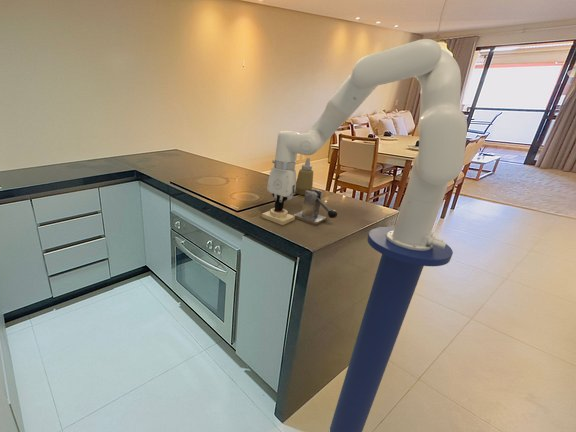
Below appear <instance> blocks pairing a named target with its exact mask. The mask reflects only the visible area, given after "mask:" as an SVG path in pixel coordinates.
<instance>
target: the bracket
mask: <svg viewBox="0 0 576 432" xmlns="http://www.w3.org/2000/svg"><path fill="white" fill-rule="evenodd" d="M314 190H315V191H316V192H317V193H318V194H319V196H318V198H319V199H320V200H321V201H322V197H323V192H324V191H323V190H321V189H317V188H312V189H311V191H314ZM311 191H306V192H305V195H304V198H303V205H302V210H301V211H297V213H294V214H292V215H293V216H295V219H296V220H299V221H303V222H305V223H308V224H310V225H313V226H318V225H319V224H322V223H324V222H325V221H327V217H328V216H327V217H326V216H324V215H320V214H319V213H320V208H321V205H320V204H319V203H318V202H317V201H316V198H317V193H315V192H311Z"/></svg>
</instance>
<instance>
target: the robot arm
mask: <svg viewBox="0 0 576 432" xmlns="http://www.w3.org/2000/svg"><path fill="white" fill-rule="evenodd" d="M412 78H415V79H416V80H417V81H418V83H419V86H420V105H419V116H418V117H419V118H418V122H417V130H418V131H417V132H418V133H419V136H418V137H419V139H418V153H417V154H416V155H415V157H414V159H413V162H412V166H411V171H410V175H409V179H408V183H407V186H406V189H405V193H404V195H403V198H402V202H401V205H400V208H399V212H398V214H397V218H396V222H395V225H394V227H395V228H394V231H390V232H388V233H387V235H386V238H387V239H388V240H389V241H390V242H391V243H393V244H395V245H397V246H400V247H403V248H406V249H410V250H417V251H426V250H430V249H431V248H432V246H433V245H434V246H437V247H439V248H442V249H444V248H445V246H446V244H447V242H444V239H441V238H437V237H435V236H434V231H432V230H433V229H434V226H435V222H436V220H437V217H438V215H439V212H440V208H441V206H442V203H443V201H444V198H445V195H446V193H447V191H448V186H449V183H450V182H451V183H452V182H453V181H454V180H456V179H457V177H459V175H460V174H461V172H462V170H463V168H464V161H465V154H466V153H465V152H466V146H467V145H466V144H467V134H468V120H467V117H466V115H465V113H464V112H463V111H462V110H461V93H462V92H461V89H462V74H461V68H460V65H459V64H458V62H457V60H456V59H455V58H454V57H453V55H452V54H450V53H449V52H448V51H446V50H445V49H442V47H441V44H439V43H438V41H436V40H434V39H430V38H421V39H417V40H413V41H410V42H407V43H404V44H401V45H398V46H395V47H391V48H387V49H385V50H381V51H377V52H373V53H371V54H367V55H365V56H363V57H361V58H360V59H359V60H357V62H356V63H355V64H354V65H353V68H352V71H351V73H350V74H349V75H348V76H347V77H346V79H345V80H344V81H343V83H342V84H341V85H340V86H339V88H338V89H337V90H336V91H335V93H333V95H332V96H331V97H330V98H329V100H328V101H327V103H326V106H325V108H324V110H323V112H322V114H320V117H319V118H318V119H317V120H316V122H315V123H314V124H313V125H312V126H311V128H310V129H308V131H307V132H304V133H299V132H298V131H296V130H280V131H279V132H278V134H277V138H276V139H277V140H276V147H275V156H274V157H275V158H274V159H272V162H271V163H272V164H273V166H272V167H271V169H270V172H269V176H268V180H267V186H266V190H267V191H268V193H269V194H270V195H272V197H273V200H274V208H275V211H278V212H279V211H281V210H283V209H284V206H285V202H286V201H290V200H291V201H292V200H293V199H294V195H295V193H296V181H297V170H296V163H297V158H298V157H297V156H298V155H302V156H312V155H314V154H316V153H317V152H318V151H319V150H321V148H322V147H323V146H324V145H325V144H326V143H327V142H328V141H329V140H330V138H331V137H332V136H333V135H334V134H335V133H336V132H337V131H338V130H339V129H340V127H342V125H343V124H344V123H345V122H347V121H348V120H349V118H350V117H351V116H352V115H353V114H354V113H355V112H356V111H357V110H358V109H359V107H360V106H361V105H362V104H363V103H364V102H365V101H366V100H367V98H369V96H370V95H371V94H372V93H373V92H374V91H375V90H376V89H377V87H378V86H382V85H387V84H391V83H395V82H400V81H403V80H408V79H412ZM434 237H435V238H434Z"/></svg>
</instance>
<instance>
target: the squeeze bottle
mask: <svg viewBox="0 0 576 432" xmlns="http://www.w3.org/2000/svg"><path fill="white" fill-rule="evenodd" d="M313 184H314V171H313V165H311V159H310V157H306V160H305V162H304V164H302V165H301V168H300V169H299V170H298V175H297V176H296V189H295V193H296V194H297V195H300V196H305V192H306V191H311V189H313V186H314V185H313Z"/></svg>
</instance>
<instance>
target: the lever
mask: <svg viewBox="0 0 576 432" xmlns="http://www.w3.org/2000/svg"><path fill="white" fill-rule="evenodd" d="M311 192H315V193H317V192H316V191H315V190H314V191H311ZM318 196H319V194H318V193H317V198H316V201H317V202H318V203H319V204H320V207H322V208H323V209H324V210H325V212H327V217H328V218H330V219H335V218H337V216H338V212H337V211H336V210H335V209H331V208H330V207H328V205H326V203H324V201H322V199H321V200H320V199H319V198H318Z"/></svg>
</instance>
